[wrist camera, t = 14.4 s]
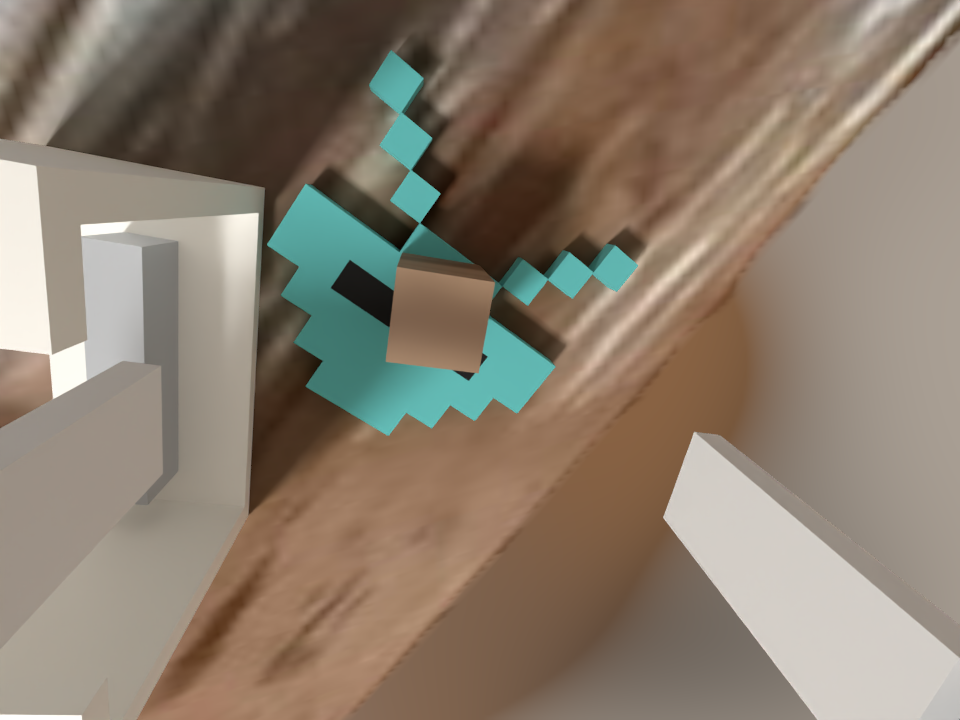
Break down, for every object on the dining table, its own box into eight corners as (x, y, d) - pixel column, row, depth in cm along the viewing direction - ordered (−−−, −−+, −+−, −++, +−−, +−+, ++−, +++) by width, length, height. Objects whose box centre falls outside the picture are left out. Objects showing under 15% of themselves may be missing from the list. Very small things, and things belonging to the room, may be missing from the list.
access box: (45, 145, 27) (-626, 43, 10) (265, 187, 29) (35, 165, 12) (72, 501, 34) (-291, 813, 17) (248, 515, 36) (89, 806, 19)
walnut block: (402, 252, 30) (396, 266, 23) (479, 264, 31) (495, 282, 24) (393, 327, 31) (385, 361, 25) (466, 338, 32) (478, 373, 26)
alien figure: (393, 61, 29) (225, 322, 32) (391, 50, 26) (212, 330, 30) (624, 261, 34) (460, 464, 38) (638, 265, 32) (462, 480, 36)
